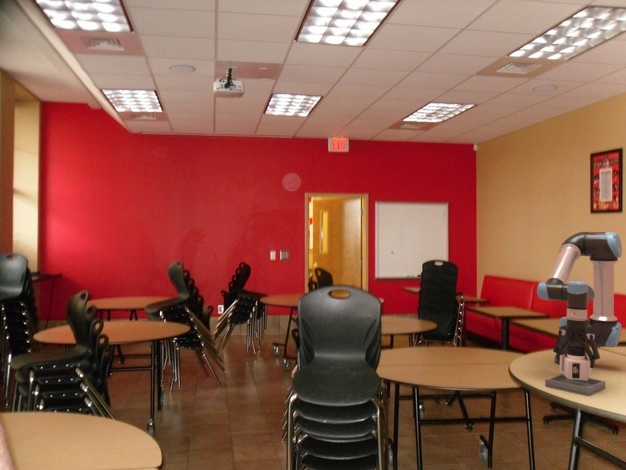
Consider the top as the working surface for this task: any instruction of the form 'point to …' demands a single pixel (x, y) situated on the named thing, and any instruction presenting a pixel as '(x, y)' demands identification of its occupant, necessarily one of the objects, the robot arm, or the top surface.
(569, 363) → the container
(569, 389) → the tray
